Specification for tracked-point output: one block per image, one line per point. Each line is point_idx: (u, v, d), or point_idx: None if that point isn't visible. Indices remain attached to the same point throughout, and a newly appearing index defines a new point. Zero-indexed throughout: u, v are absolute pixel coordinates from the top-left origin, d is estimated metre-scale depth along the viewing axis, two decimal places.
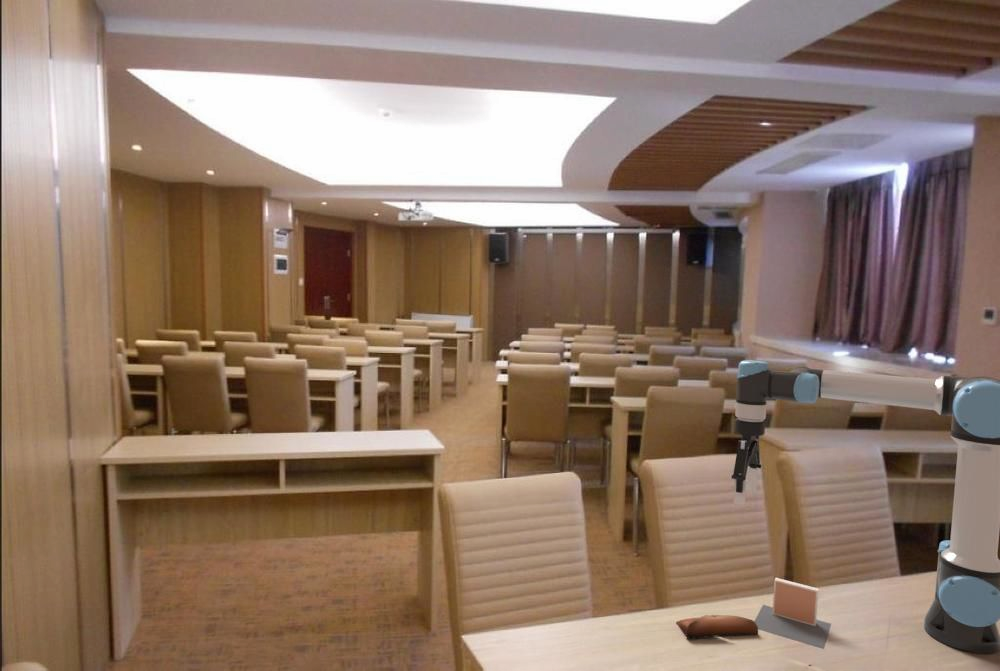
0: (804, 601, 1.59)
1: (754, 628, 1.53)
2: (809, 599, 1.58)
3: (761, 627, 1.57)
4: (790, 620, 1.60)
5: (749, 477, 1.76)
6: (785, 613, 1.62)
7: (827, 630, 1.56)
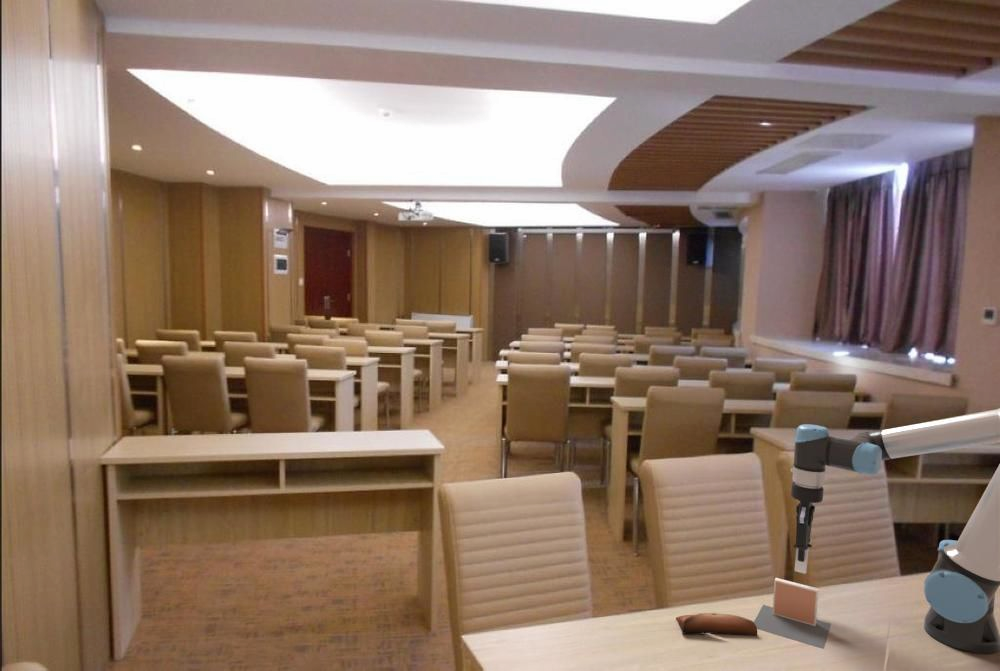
0: (804, 601, 1.59)
1: (753, 629, 1.53)
2: (809, 599, 1.58)
3: (761, 627, 1.57)
4: (790, 620, 1.60)
5: None
6: (785, 613, 1.62)
7: (827, 630, 1.56)
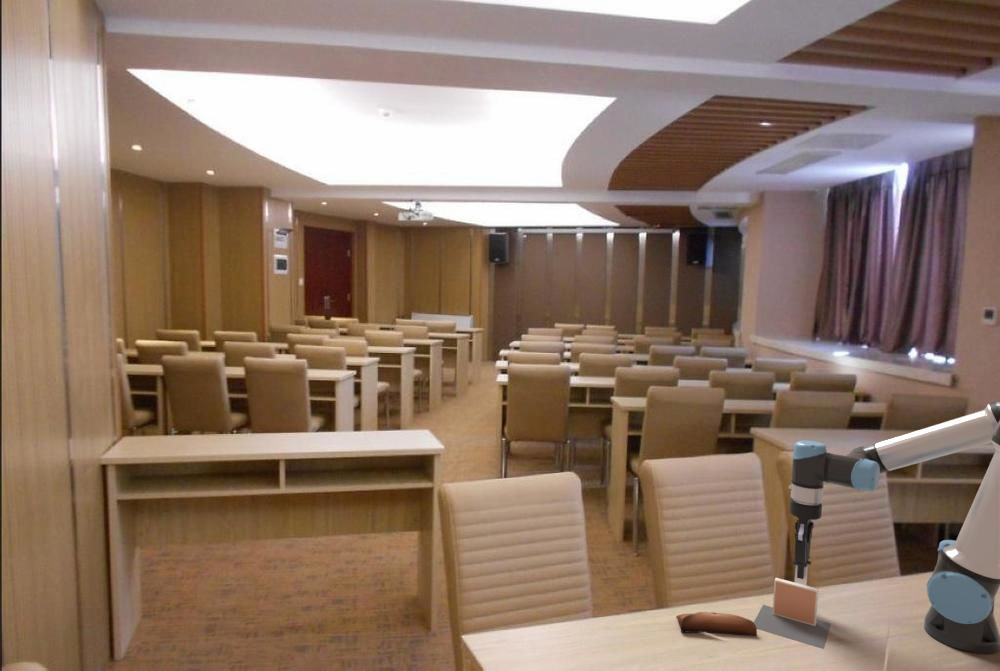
0: (804, 601, 1.59)
1: (752, 629, 1.53)
2: (809, 599, 1.58)
3: (761, 627, 1.57)
4: (790, 620, 1.60)
5: None
6: (785, 613, 1.62)
7: (827, 630, 1.56)
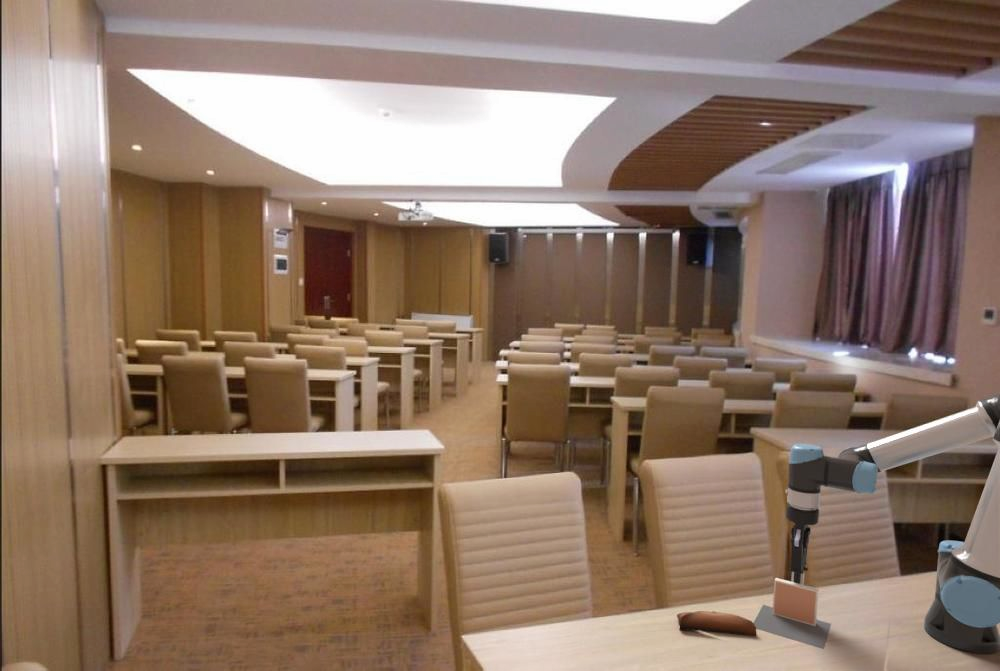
0: (804, 601, 1.59)
1: (752, 629, 1.53)
2: (809, 599, 1.58)
3: (761, 627, 1.57)
4: (790, 620, 1.60)
5: None
6: (785, 613, 1.62)
7: (827, 630, 1.56)
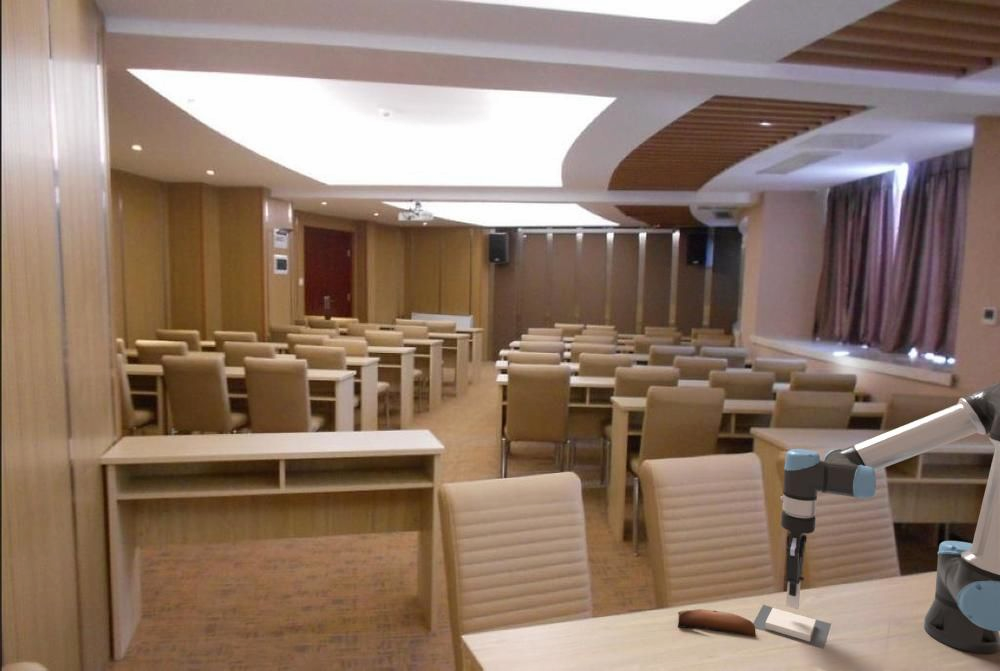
0: None
1: (751, 629, 1.53)
2: None
3: (761, 627, 1.57)
4: None
5: None
6: None
7: (827, 630, 1.56)
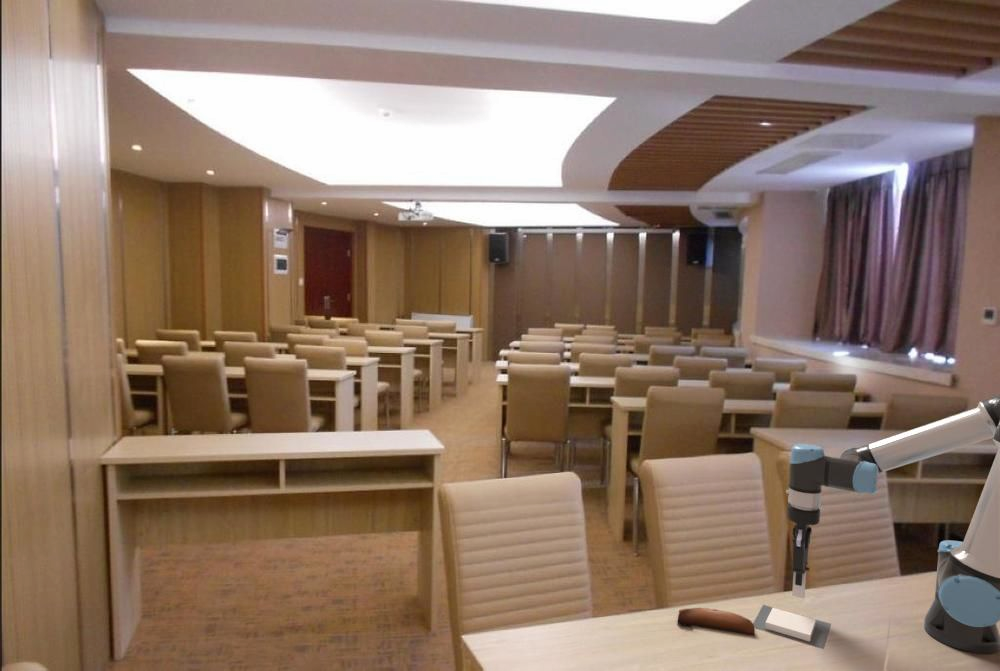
0: None
1: (750, 628, 1.53)
2: None
3: (761, 627, 1.57)
4: None
5: None
6: None
7: (827, 630, 1.56)
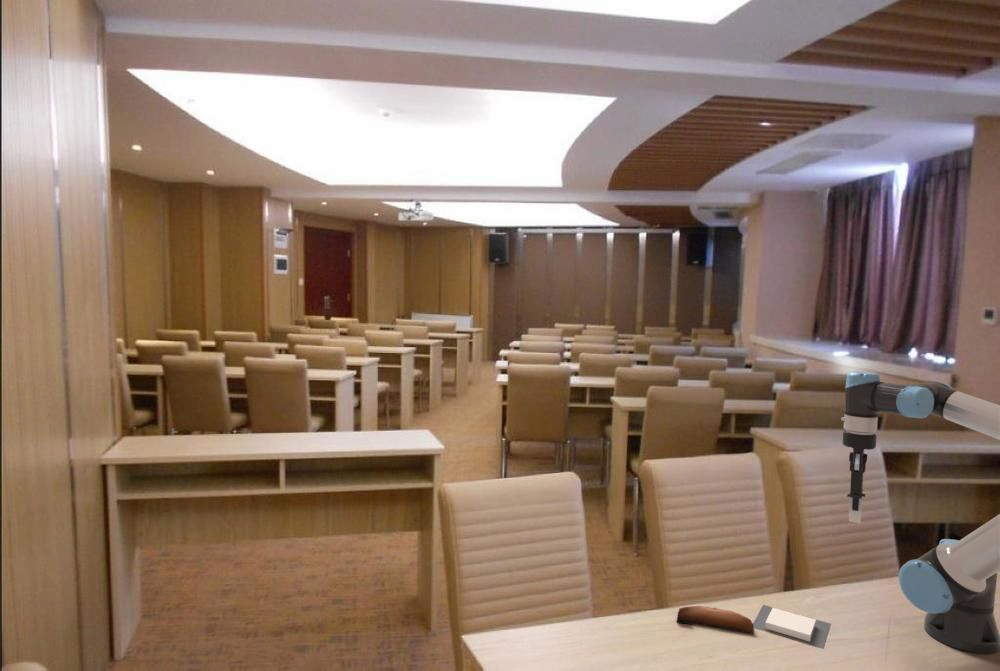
0: None
1: (749, 627, 1.54)
2: None
3: (761, 627, 1.57)
4: None
5: None
6: None
7: (827, 630, 1.56)
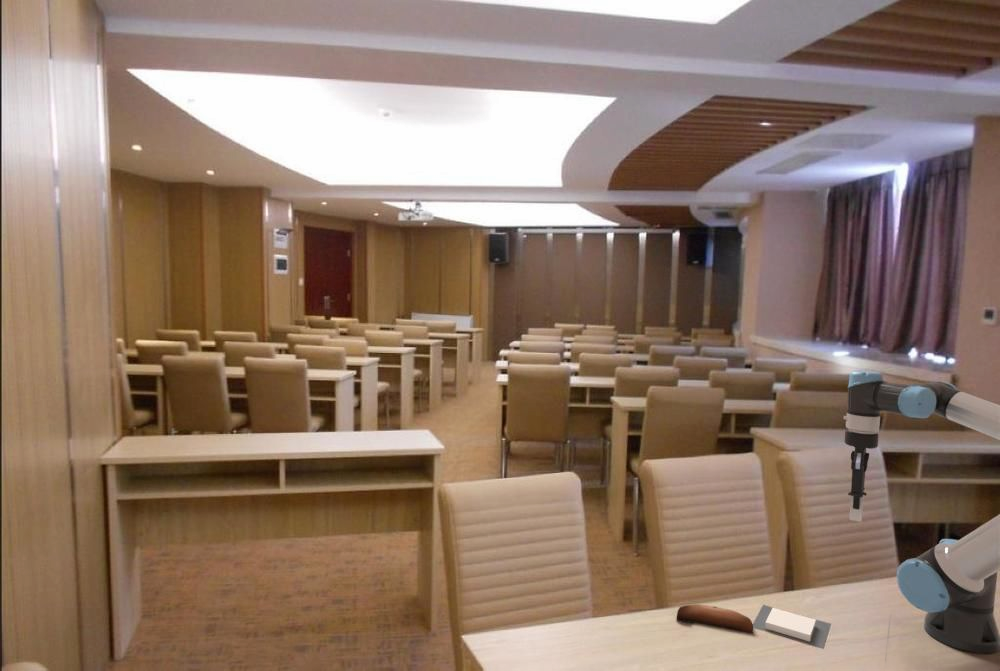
0: None
1: (748, 626, 1.54)
2: None
3: (761, 627, 1.57)
4: None
5: None
6: None
7: (827, 630, 1.56)
